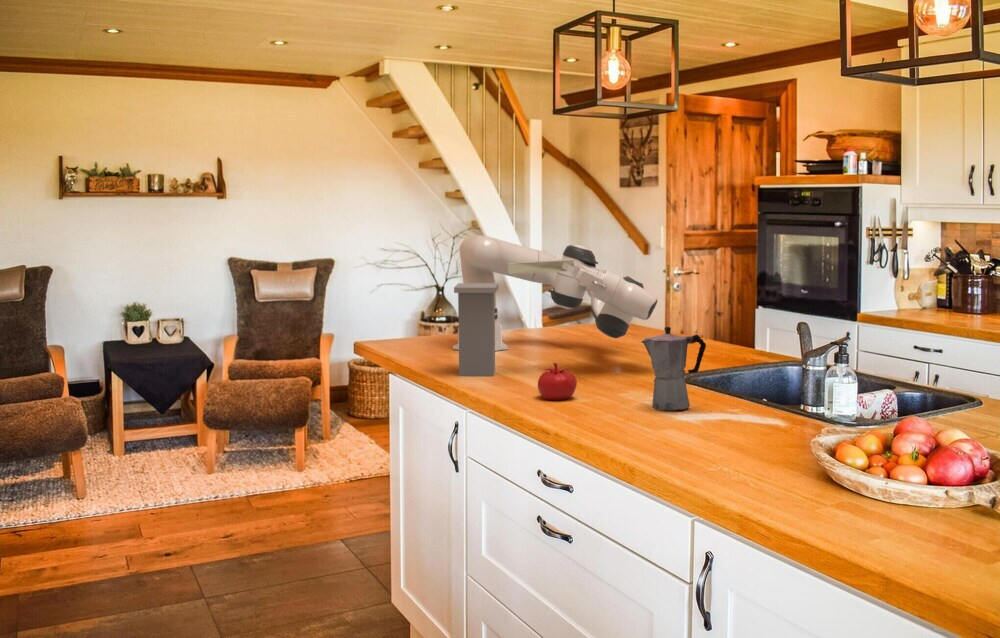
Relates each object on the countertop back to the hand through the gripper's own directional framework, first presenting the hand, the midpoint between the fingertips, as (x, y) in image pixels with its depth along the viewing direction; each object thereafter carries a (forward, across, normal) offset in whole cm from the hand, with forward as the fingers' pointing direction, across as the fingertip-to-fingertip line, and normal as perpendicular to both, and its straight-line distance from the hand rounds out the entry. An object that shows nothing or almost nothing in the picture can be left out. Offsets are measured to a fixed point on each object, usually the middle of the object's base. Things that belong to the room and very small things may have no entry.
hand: (562, 264), depth 273 cm
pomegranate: (-13, -35, -30) cm, 48 cm away
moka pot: (-38, -46, -17) cm, 62 cm away
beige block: (+4, 0, -5) cm, 7 cm away
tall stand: (+8, 0, -40) cm, 41 cm away
